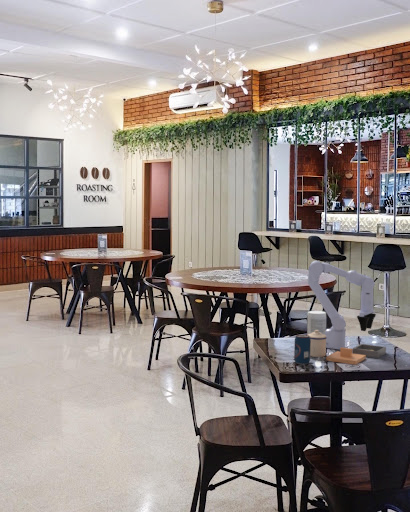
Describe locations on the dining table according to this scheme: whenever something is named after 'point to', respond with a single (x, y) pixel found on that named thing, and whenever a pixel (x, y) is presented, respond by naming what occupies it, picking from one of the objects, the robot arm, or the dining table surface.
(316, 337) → the teacup with lid
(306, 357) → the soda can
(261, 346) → the dining table surface
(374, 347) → the parts tub
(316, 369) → the dining table surface
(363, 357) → the lid
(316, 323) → the supplement tub
